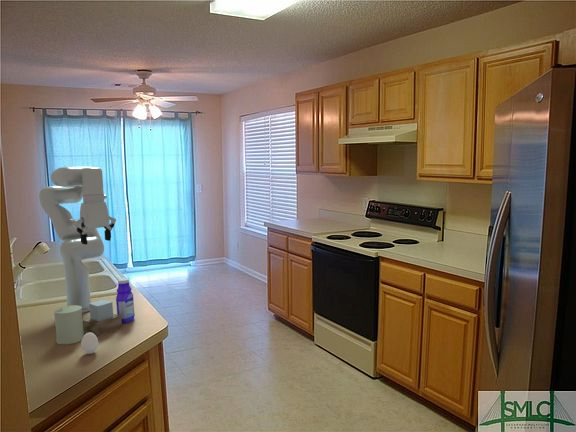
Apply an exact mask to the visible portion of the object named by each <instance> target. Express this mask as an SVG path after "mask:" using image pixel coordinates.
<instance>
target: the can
mask: <svg viewBox="0 0 576 432" xmlns="http://www.w3.org/2000/svg"><path fill="white" fill-rule="evenodd" d="M53 313H54V321H55V323H54V324H55V336H56V340H55V341H56V342H55V343H56V344H58V345H72V344H76V343H78V342H80V341H82V338H83V337H84V335H85V334H84V333H85V332H83V321H82V320H83V313H82V307H81V306H78V305H70V306H67V305H64V306H60V307H57V308H56V309H54V310H53Z"/></svg>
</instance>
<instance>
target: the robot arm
mask: <svg viewBox="0 0 576 432" xmlns="http://www.w3.org/2000/svg"><path fill="white" fill-rule="evenodd" d="M103 178H104V177H103V170H102V168H101V167H99V166H98V167H97V166H96V167H94V166H64V167H58V168H56V169H54V170H53V171H52V172H51V174H50V180H51V182H52V183H53V184H54V185H50V186H49V185H48V186H45V187H42V188H41V189H40V191H39V193H38V198H39V199H38V200H39V202H40V205H41V206H40V207H41V208H42V210H43V211H44V213H45V214H46V215H47V216H48V217H49V220H50V221H51V223H52V225H53V228H54V230H55V232H56V235H57V238H58V239H59V240H60V241H61V242H62V243H61V244H60V247H59V251H60V252H59V253H60V255H61V260H62V264H63V270H64V271H63V274H64V284H65V298H66V299H65V302H66V306H70V305H78V306H81V307H82V314H83V313H87V312H90V306H89V303H92V301H91V300H92V299H91V288H90V274H89V268H88V267H87V265H86V264H85V263H84V262H83V261H85V260H89V259H94V258H100V257H101V256H102V255H103V254H104V252H105V246H104V243H103V239H102V237H101V235H100V233H99V231H98V229H100V228H104V229H105V230H104V240H105V241H109V242H110V241H111V238H112V230H113V228H114V227H115V224H116V222H117V219H116V218H115V217H113V216H110V215H109V210H108V206H107V205H108V204H107V202H106V201H105V199H107V197H108V195H106V194H105V193H104V179H103ZM81 201H82V203H81V204H80V208H79V219H75V218H73V215H72V214H71V211H69V210H68V209H67V208H65V207H64V206H62V205H65V204H77V203H79V202H81Z"/></svg>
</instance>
